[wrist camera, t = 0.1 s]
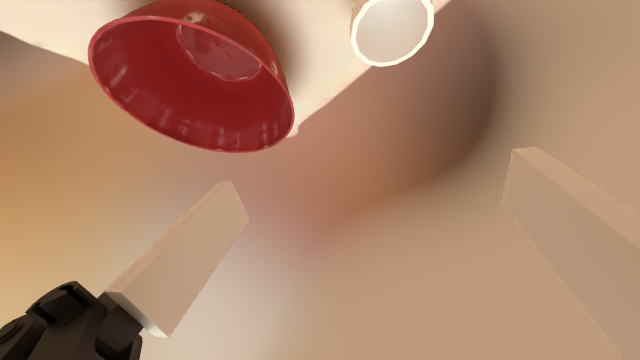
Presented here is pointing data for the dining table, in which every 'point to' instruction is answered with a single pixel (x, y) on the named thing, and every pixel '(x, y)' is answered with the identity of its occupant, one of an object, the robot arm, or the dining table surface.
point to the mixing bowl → (195, 75)
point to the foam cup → (389, 29)
